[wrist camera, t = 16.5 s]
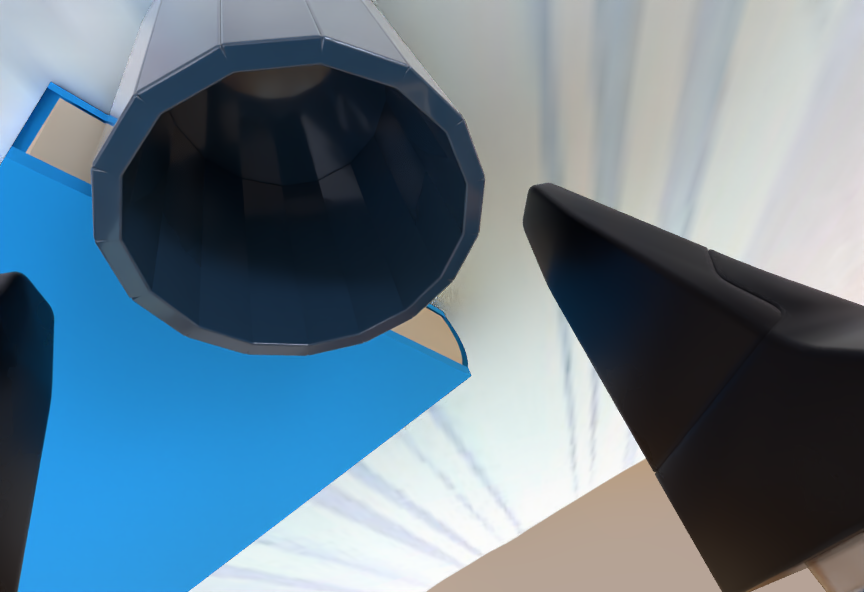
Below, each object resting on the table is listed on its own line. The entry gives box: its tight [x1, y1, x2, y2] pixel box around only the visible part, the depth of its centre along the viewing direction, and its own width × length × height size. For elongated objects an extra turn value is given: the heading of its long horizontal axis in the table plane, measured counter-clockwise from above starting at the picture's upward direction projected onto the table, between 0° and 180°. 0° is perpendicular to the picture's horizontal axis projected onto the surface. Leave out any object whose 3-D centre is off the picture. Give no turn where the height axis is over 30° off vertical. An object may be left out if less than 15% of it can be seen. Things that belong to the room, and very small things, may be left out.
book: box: [0, 82, 471, 592], centre depth 21 cm, size 17×4×25 cm
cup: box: [91, 0, 485, 356], centre depth 11 cm, size 7×7×8 cm
